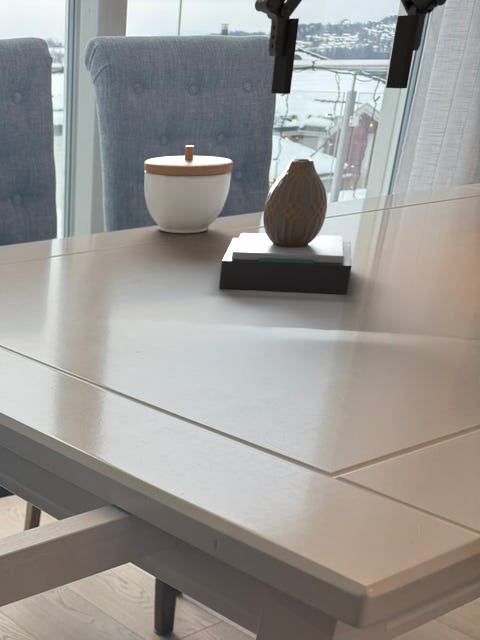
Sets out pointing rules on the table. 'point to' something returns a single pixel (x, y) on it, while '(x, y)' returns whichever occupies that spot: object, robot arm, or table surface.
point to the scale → (287, 265)
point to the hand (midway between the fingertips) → (339, 91)
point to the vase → (295, 205)
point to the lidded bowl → (186, 190)
